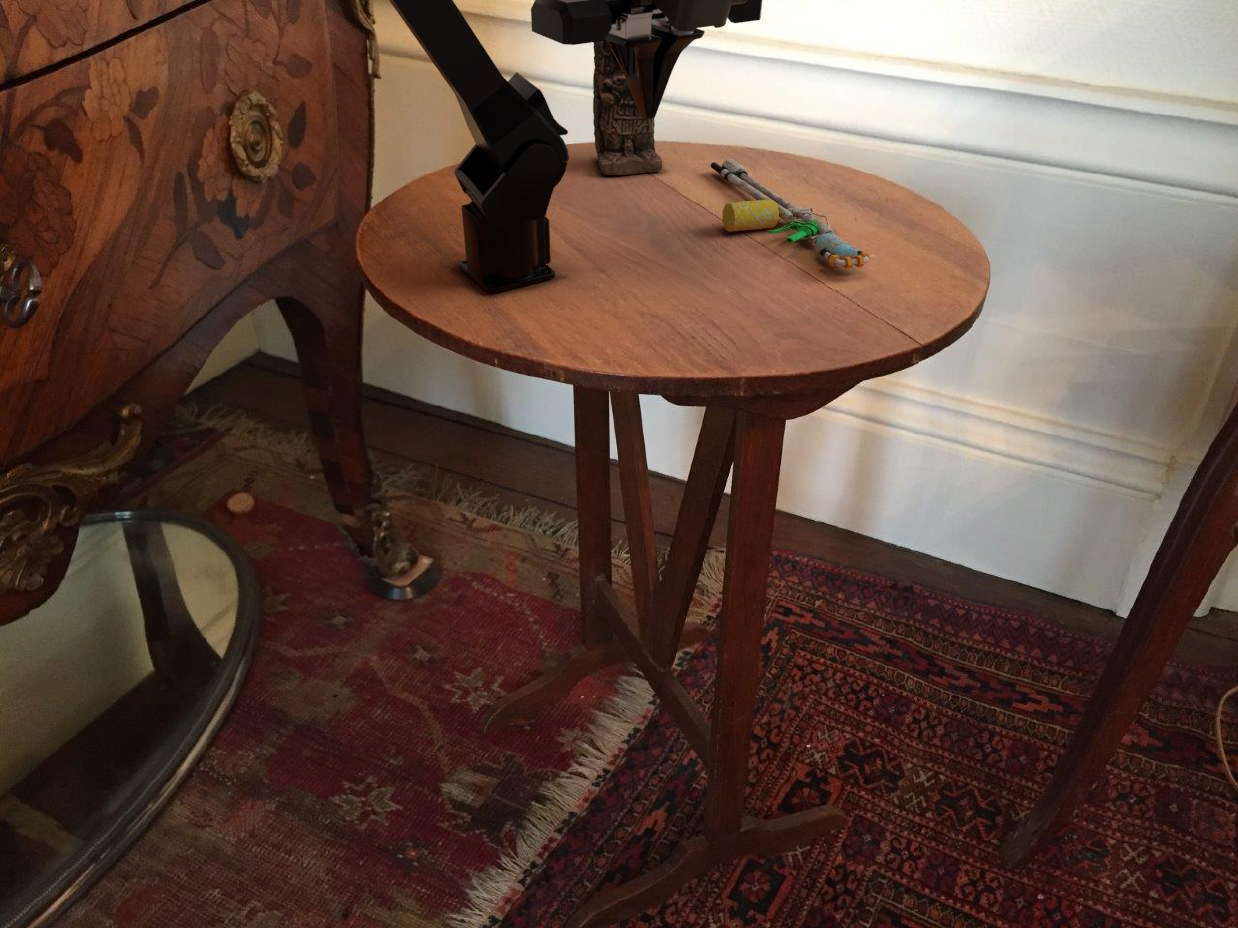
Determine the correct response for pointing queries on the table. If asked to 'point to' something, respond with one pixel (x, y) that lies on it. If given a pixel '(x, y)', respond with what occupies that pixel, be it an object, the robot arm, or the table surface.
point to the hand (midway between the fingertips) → (647, 118)
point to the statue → (619, 120)
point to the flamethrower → (768, 213)
